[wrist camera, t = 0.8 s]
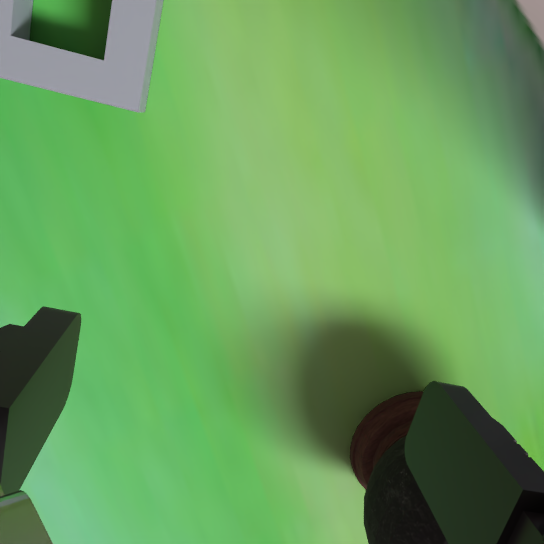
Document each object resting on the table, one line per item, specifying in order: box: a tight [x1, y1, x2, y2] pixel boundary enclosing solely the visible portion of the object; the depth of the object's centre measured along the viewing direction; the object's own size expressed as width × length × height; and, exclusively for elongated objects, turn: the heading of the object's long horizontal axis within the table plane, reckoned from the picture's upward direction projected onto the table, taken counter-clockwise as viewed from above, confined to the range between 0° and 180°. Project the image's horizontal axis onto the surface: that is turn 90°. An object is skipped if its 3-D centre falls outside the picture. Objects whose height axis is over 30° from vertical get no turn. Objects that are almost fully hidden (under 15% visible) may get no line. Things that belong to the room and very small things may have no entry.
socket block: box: [0, 0, 163, 112], centre depth 29 cm, size 10×10×3 cm
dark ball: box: [350, 391, 448, 544], centre depth 37 cm, size 13×13×15 cm
